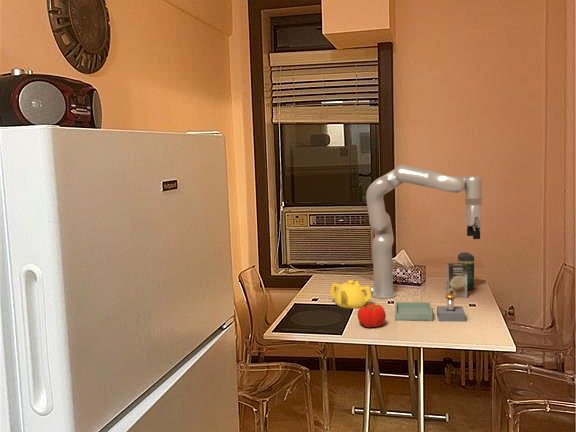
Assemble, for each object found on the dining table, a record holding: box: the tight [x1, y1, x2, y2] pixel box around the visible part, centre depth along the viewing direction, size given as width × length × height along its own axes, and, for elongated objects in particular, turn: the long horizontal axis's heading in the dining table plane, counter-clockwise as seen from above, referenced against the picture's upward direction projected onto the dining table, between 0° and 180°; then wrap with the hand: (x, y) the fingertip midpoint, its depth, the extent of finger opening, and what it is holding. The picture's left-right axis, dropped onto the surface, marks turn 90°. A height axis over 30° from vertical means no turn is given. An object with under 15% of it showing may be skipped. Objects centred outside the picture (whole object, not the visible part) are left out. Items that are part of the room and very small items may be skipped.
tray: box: [394, 301, 434, 322], centre depth 272 cm, size 16×19×3 cm
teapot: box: [329, 279, 373, 309], centre depth 292 cm, size 17×17×12 cm
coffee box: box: [446, 262, 468, 299], centre depth 299 cm, size 9×6×16 cm
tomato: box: [357, 303, 387, 328], centre depth 258 cm, size 13×12×8 cm
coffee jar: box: [457, 252, 475, 291], centre depth 314 cm, size 10×8×19 cm
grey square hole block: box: [436, 305, 466, 322], centre depth 265 cm, size 11×11×4 cm
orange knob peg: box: [444, 293, 457, 311], centre depth 265 cm, size 4×4×10 cm
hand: (473, 237), depth 291 cm, fingers open, 9 cm apart
